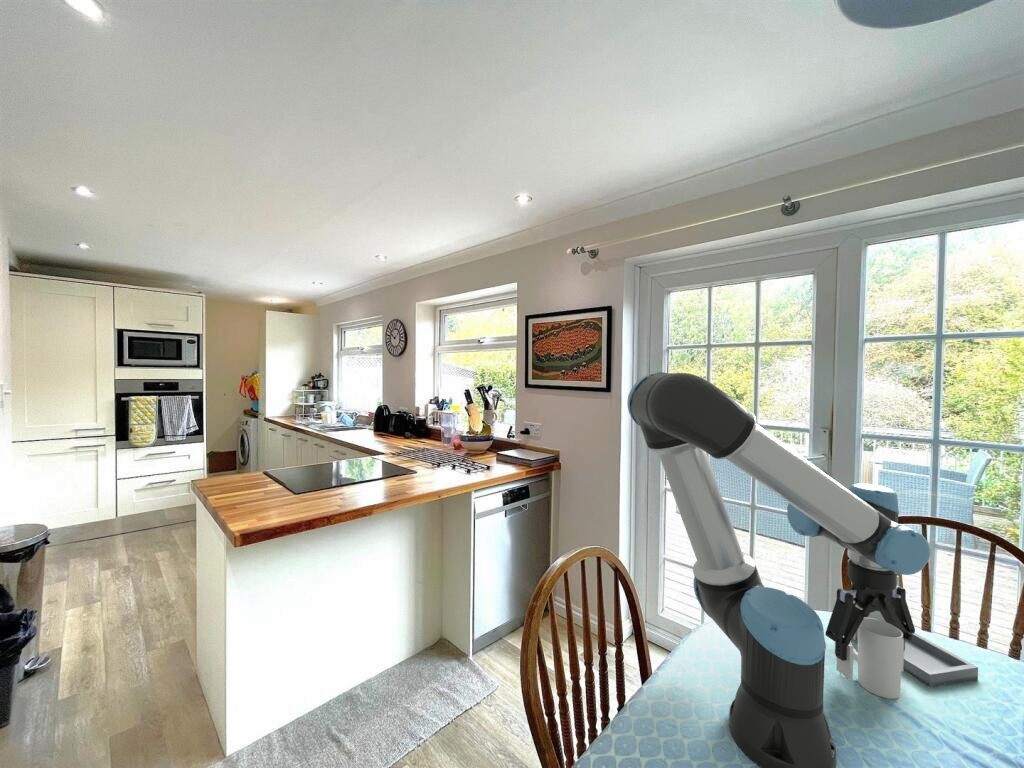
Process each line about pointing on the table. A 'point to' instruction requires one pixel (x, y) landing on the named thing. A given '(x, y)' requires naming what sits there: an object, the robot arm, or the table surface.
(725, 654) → the table surface
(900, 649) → the mug
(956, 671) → the mug holder
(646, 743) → the table surface
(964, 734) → the table surface
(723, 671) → the table surface
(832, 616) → the robot arm
